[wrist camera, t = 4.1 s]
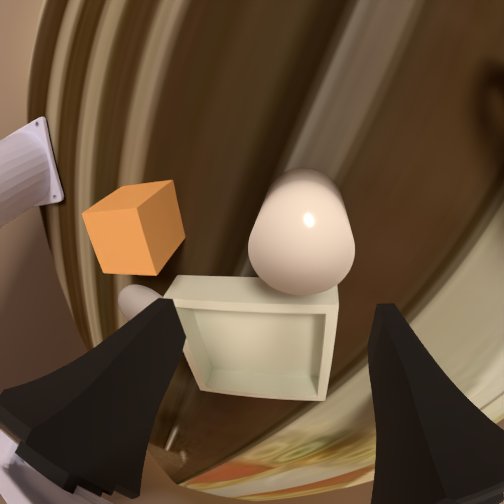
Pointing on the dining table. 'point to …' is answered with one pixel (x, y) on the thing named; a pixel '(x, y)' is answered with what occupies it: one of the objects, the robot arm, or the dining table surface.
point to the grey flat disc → (136, 299)
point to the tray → (256, 336)
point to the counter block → (136, 228)
